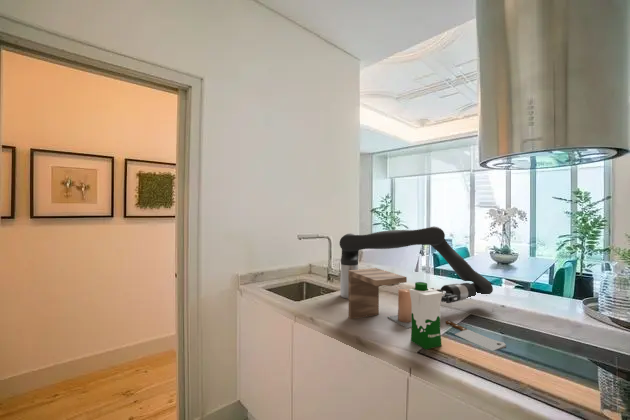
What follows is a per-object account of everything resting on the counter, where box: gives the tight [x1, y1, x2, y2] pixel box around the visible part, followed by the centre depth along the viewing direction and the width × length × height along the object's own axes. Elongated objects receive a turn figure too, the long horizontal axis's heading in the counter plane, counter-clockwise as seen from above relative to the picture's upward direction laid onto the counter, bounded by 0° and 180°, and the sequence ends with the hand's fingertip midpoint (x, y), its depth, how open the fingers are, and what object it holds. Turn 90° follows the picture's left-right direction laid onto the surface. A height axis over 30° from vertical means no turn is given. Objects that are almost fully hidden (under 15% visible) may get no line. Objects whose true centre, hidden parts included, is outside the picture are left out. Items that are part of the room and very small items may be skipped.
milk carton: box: [408, 281, 443, 350], centre depth 100 cm, size 9×9×20 cm
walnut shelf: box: [348, 267, 408, 320], centre depth 118 cm, size 20×14×20 cm
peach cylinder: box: [397, 288, 412, 322], centre depth 120 cm, size 5×5×12 cm
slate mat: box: [387, 314, 412, 329], centre depth 120 cm, size 12×8×1 cm, turn 23°
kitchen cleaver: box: [445, 320, 507, 351], centre depth 107 cm, size 24×1×10 cm
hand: (426, 297), depth 125 cm, fingers open, 8 cm apart
